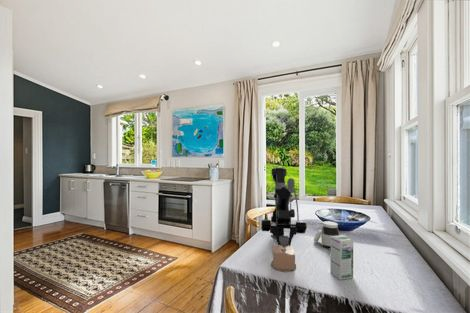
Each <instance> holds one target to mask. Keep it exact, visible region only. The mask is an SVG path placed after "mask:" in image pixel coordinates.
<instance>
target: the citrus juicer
mask: <svg viewBox="0 0 470 313" xmlns="http://www.w3.org/2000/svg"><path fill="white" fill-rule="evenodd" d="M286 181H287V182H286V185H287V186H288V190H289V191H290V193H291V194H292V195H293V194H294V198H295V206H296V214H297V215H296V216H297V220H296V221H299V219H300V218H299V215H300V214H299V204H298V197H297V193H296V188H295V184H296V183H295V180H294V178H291V177H289V178H288V179H287V180H286ZM290 209H292V197H291V198H290V202H289V210H290ZM290 219H291V220H292V217H290ZM290 224H292V221H291V222H290Z"/></svg>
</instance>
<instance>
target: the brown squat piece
mask: <svg viewBox="0 0 470 313" xmlns="http://www.w3.org/2000/svg"><path fill="white" fill-rule="evenodd" d="M272 256H273V258H272V260H271V262H270V263H271V266H270V267H272V269H275V270H276V271H279V272H286V273H288V272H294V271H296V269H297V264H296V253H295V250H294V247H293V246H290V247H289V246H286V247H285V251H282V246H280V245H279V246H278V245H273V255H272Z"/></svg>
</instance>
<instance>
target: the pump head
mask: <svg viewBox="0 0 470 313" xmlns="http://www.w3.org/2000/svg"><path fill="white" fill-rule="evenodd" d="M279 246H282V251H285V247H286V246H288V247H289V235H284V236H279Z"/></svg>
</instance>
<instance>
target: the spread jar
mask: <svg viewBox="0 0 470 313" xmlns="http://www.w3.org/2000/svg"><path fill="white" fill-rule="evenodd" d="M338 225H339V224H338V223H337V222H334V221H331V220H330V221H329V220H327V221H325V220H324V221H323V222H322V227H321V229H319V230H317V232H316V234H315V235H314V236H315V237H314V238H313V242H314V243H316V244H317V243H318V242H319V241H320V239H321V246H322V247H323V248H325V249H328V250H331V236H340V231H339V229H338V228H339V226H338Z"/></svg>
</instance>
